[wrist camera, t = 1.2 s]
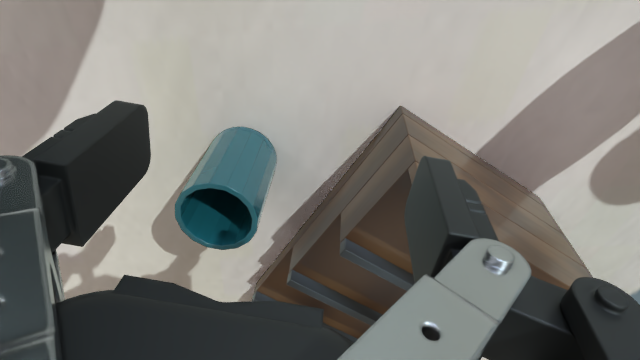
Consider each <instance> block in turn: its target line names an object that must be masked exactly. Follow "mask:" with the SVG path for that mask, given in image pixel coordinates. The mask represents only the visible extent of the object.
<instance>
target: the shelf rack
mask: <svg viewBox="0 0 640 360" xmlns="http://www.w3.org/2000/svg"><path fill="white" fill-rule="evenodd" d="M423 156H428V157H434V158H439V159H445V160H450V162H451V164H452V166H453V169H454V171H455V174H456V176H457V179H462V180H465V181H466V182H467V183H468V184H470V185H471V186H472V187H473V188H474V189H475V190H476V191H477V193H478V196H479V198H480V200H481V202H482V203H481V205H483V207H484V209H485V211H486V214H487V215H488V218H489V220H490V222H491V224H492V226H493V229H494V231H495V233H496V235H497V237H498V240H499V242H502V243H504V244H506V245H508V246H510V247H512V248H513V249H515V250H516V251H517V252H519V253H520V254H521V255H522V256H523V257H524V258H525V259H526V260H527V262H528V263H529V265H530V268H531V275H532V276H534V277H536V278H538V279H540V280H543V281H545V282H548V283H551V284H553V285H556V286H558V287H561V288H563V289H566V290H568V289H569V287H570V286H571V285H572V283H573V282H574V280H576V279H577V278H580V277H592V275H591V274H590V272H589V271H588V269H587V268H586V266H585V265H584V263H583V262H582V260H581V259H580V257H579V256H578V254H577V253H576V251H575V250H574V248H573V247H572V245H571V244H570V242H569V241H568V239H567V238H566V236H565V235H564V234H563V232H562V231H561V229H560V228H559V226H558V225H557V223H556V222H555V220H554V219H553V217H552V216H551V214H550V213H549V211H548V210H547V208H546V207H545V205H544V204H543V202H542V201H541V199H540V198H539V197H538V196H536V195H535V194H533V193H532V192H530V191H529V190H527V189H526V188H524V187H523V186H521V185H520V184H518V183H517V182H515V181H514V180H512V179H511V178H509V177H508V176H506V175H505V174H503V173H502V172H500V171H499V170H497V169H496V168H494V167H493V166H491V165H490V164H488V163H487V162H485V161H484V160H482V159H481V158H479V157H478V156H476V155H475V154H473V153H472V152H470V151H469V150H467V149H466V148H464V147H463V146H461V145H460V144H458V143H456V142H455V141H453V140H452V139H450V138H449V137H447V136H446V135H444V134H443V133H441V132H440V131H438V130H437V129H435V128H434V127H432V126H431V125H429V124H428V123H426V122H425V121H423V120H422V119H420V118H419V117H417V116H416V115H414V114H413V113H411V112H410V111H408V110H407V109H405V108H404V107H402V106H400V107H399V108H398V109H397V111H396V112H395V113H394V114H393V116H392V117H391V118H390V119H389V121H388V122H387V123H386V124H385V126H384V127H383V128H382V129H381V130H380V132H379V133H378V134H377V135H376V137H375V138H374V139H373V140H372V142H371V143H370V144H369V145H368V146H367V148H366V149H365V150H364V151H363V153H362V154H361V155H360V156H359V158H358V159H357V160H356V161H355V163H354V164H353V165H352V166H351V167H350V169H349V170H348V171H347V172H346V174H345V175H344V176H343V177H342V179H341V180H340V181H339V182H338V183H337V185H336V186H335V187H334V188H333V190H332V191H331V192H330V193H329V195H328V196H327V197H326V198H325V200H324V201H323V202H322V203H321V204H320V206H319V207H318V208H317V209H316V211H315V212H314V213H313V214H312V216H311V217H310V218H309V219H308V220H307V222H306V223H305V224H304V225H303V227H302V228H301V229H300V230H299V232H298V233H297V234H296V235H295V237H294V238H293V239H292V240H291V241H290V243H289V244H288V245H287V246H286V248H285V249H284V250H283V251H282V253H281V254H280V255H279V256H278V257H277V259H276V260H275V261H274V262H273V264H272V265H271V266H270V267H269V269H268V270H267V271H266V272H265V273H264V275H263V276H262V277H261V278H260V280H259V281H258V282H257V283H256V287H255V291H254V295H253V299H252V302H254V301H280V302H286V303H291V304H297V305H303V306H309V307H315V308H321V309H324V313H323V324H322V325H324V326H327V327H329V328H331V329H333V330H335V331H337V332H338V333H340V334H342V335H343V336H345V337H346V338H348V339H349V340H351V341H352V342H353V343H355V342H356V341H357V340H358V339H359V338H360V337H361V336H362V335H363V334H364V333H365V332H366V331H367V330H368V329H369V328H370V327H371V326H372V325H373V324H374V323H375V322H376V321H377V320H378V319H379V318H380V317H381V316H382V315H383V314H384V313H385V312H387V311H388V310H389V309H390V308H391V307H392V306H393V305H394V304H395V303H396V302H397V301H398V300H399V299H400V298H401V297H402V296H403V295H404V294H405V293H406V292H407V291H408V290H409V289H410V288H411V287H412V286H413V285H414V284H415V283H414V276H413V270H412V264H411V258H410V252H409V245H408V239H407V233H406V227H405V220H404V214H405V206H406V202H407V199H408V195H409V192H410V189H411V186H412V183H413V180H414V177H415V174H416V171H417V168H418V165H419V163H420V160H421V158H422V157H423ZM592 278H593V277H592Z"/></svg>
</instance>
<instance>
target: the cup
mask: <svg viewBox="0 0 640 360" xmlns="http://www.w3.org/2000/svg"><path fill="white" fill-rule="evenodd" d="M276 161H277V158H276V152H275V150H274V147H273V146H272V144H271V142H270V141H269V140H268V139H267V138H266V137H265V136H264V135H263V134H261V133H260V132H258V131H256V130H253V129H250V128H246V127H233V128H229V129H226V130H224V131H222V132H221V133H220V134H218V135H217V137H216V138H215V139H214V140H213V142H212V144H211V145H210V147H209V148H208V150H207V152H206V153H205V155H204V157H203V158H202V160H201V161H200V163H199V165H198V166H197V168H196V169H195V171H194V173H193V174H192V176H191V178H190V179H189V181H188V182H187V184H186V186H185V187H184V189H183V191H182V192H181V194H180V196H179V197H178V199H177V201H176V203H175V218H176V220H177V222H178V224H179V226H180V228H181V230H182V231H183V232H184V233H185V234H186V235H188V236H189V237H190V238H191V239H192V240H193V241H195V242H197V243H199V244H201V245H203V246H206V247H209V248H214V249H220V250H226V249H234V248H238V247H240V246H242V245H244V244H246V243H248V242H249V241H250V240H251V239H252V237H253V236H254V234H255V233H256V231H257V228H258V225H259V222H260V218H261V215H262V212H263V208H264V205H265V202H266V198H267V195H268V192H269V189H270V185H271V182H272V179H273V175H274V172H275V167H276Z"/></svg>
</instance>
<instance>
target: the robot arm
mask: <svg viewBox="0 0 640 360" xmlns="http://www.w3.org/2000/svg"><path fill="white" fill-rule="evenodd" d="M150 157H151V152H150V138H149V124H148V113H147V109H146V107H145V106H144V105H140V104H134V103H128V102H123V101H114V102H112V103H111V104H109V105H108V106H107V107H105V108H104V109H102V110H101V111H99V112H98V113H97V114H92V115H89V116H86V117H83V118H80V119H77V120H75V121H74V122H72V123H71V124H69V125H68V126H66V127H65V128H64V130H61V131H59V132H58V133H56V134H55V135H54V137H50V138H49V139H47V140H46V141H44V142H43V143H41V144H40V145H38V146H37V147H36V148H34V149H33V150H31V151H30V152H28V153H27V154H25V155H24V156H22V157H19V156H0V360H481V358H482V357H484V358H487V359H489V360H640V305H639V304H638V303H637V302H636V301H635V300H634V299H633V298H632V297H631V296H630V295H628V294H627V293H625V292H624V291H623V290H621V289H619V288H618V287H616V286H614V285H612V284H610V283H608V282H606V281H603V280H600V279H596V278H592V277H580V278H577V279H576V280H574V282H573V283H572V285H571V286H570V287H569V289H568V290H566V289H563V288H561V287H558V286H556V285H553V284H551V283H548V282H545V281H543V280H540V279H538V278H536V277H534V276H532V275H531V268H530V265H529V263H528V262H527V260H526V259H525V258H524V257H523V256H522V255H521V254H520V253H519V252H517V251H516V250H515V249H513V248H512V247H510V246H508V245H506V244H504V243H502V242H499V240H498V237H497V235H496V233H495V231H494V229H493V226H492V224H491V222H490V220H489V218H488V215H487V214H486V211H485V209H484V207H483V205H481V203H482V202H481V200H480V198H479V196H478V193H477V191H476V190H475V189H474V188H473V187H472V186H471V185H470V184H468V183H467V182H466V181H465V180H462V179H457V176H456V174H455V171H454V169H453V166H452V164H451V162H450V160H445V159H439V158H434V157H428V156H423V157H422V158H421V160H420V163H419V165H418V168H417V171H416V174H415V177H414V180H413V183H412V186H411V189H410V192H409V195H408V199H407V202H406V206H405V214H404V220H405V227H406V233H407V239H408V245H409V252H410V258H411V264H412V270H413V276H414V283H415V284H414V285H413V286H412V287H411V288H410V289H409V290H408V291H407V292H406V293H405V294H404V295H403V296H402V297H401V298H400V299H399V300H398V301H397V302H396V303H395V304H394V305H393V306H392V307H391V308H390V309H389V310H388V311H387V312H385V313H384V314H383V315H382V316H381V317H380V318H379V319H378V320H377V321H376V322H375V323H374V324H373V325H372V326H371V327H370V328H369V329H368V330H367V331H366V332H365V333H364V334H363V335H362V336H361V337H360V338H359V339H358V340H357V341H356V342H355V343H353V342H352V341H351V340H349V339H348V338H346V337H345V336H343V335H342V334H340V333H338V332H337V331H335V330H333V329H331V328H329V327H327V326H324V325H322V324H323V313H324V309H321V308H315V307H309V306H303V305H297V304H291V303H286V302H280V301H254V302H227V303H226V302H218V301H215V300H213V299H210V298H208V297H206V296H203V295H201V294H198V293H196V292H193V291H191V290H189V289H186V288H184V287H181V286H179V285H176V284H174V283H169V282H163V281H157V280H151V279H145V278H139V277H134V276H128V275H124V276H123V278H122V279H121V281H120V282H119V284H118V285H117V287H116V288H115V290H106V291H99V292H92V293H88V294H83V295H79V296H76V297H73V298H69V299H66V300H65V297H64V291H63V285H62V279H61V273H60V267H59V261H58V256H57V252H56V248H57V247H58V246H59V245H60V244H61V243H64V244H70V245H75V246H81V247H83V246H84V245H85V243H86V242H87V241H88V240H89V239H90V238H91V236H92V235H93V234H94V233H95V232H96V231H97V230H98V228H99V227H100V226H101V225H102V224H103V223H104V221H105V220H106V219H107V218H108V217H109V216H110V214H111V213H112V212H113V211H114V210H115V209H116V208H117V206H118V205H119V204H120V203H121V202H122V201H123V199H124V198H125V197H126V196H127V195H128V194H129V193H130V191H131V190H132V189H133V188H134V187H135V186H136V184H137V183H138V182H139V181H140V180H141V179H142V177H143V176H144V175H145V174H146V172H147V170H148V167H149V164H150Z"/></svg>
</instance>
